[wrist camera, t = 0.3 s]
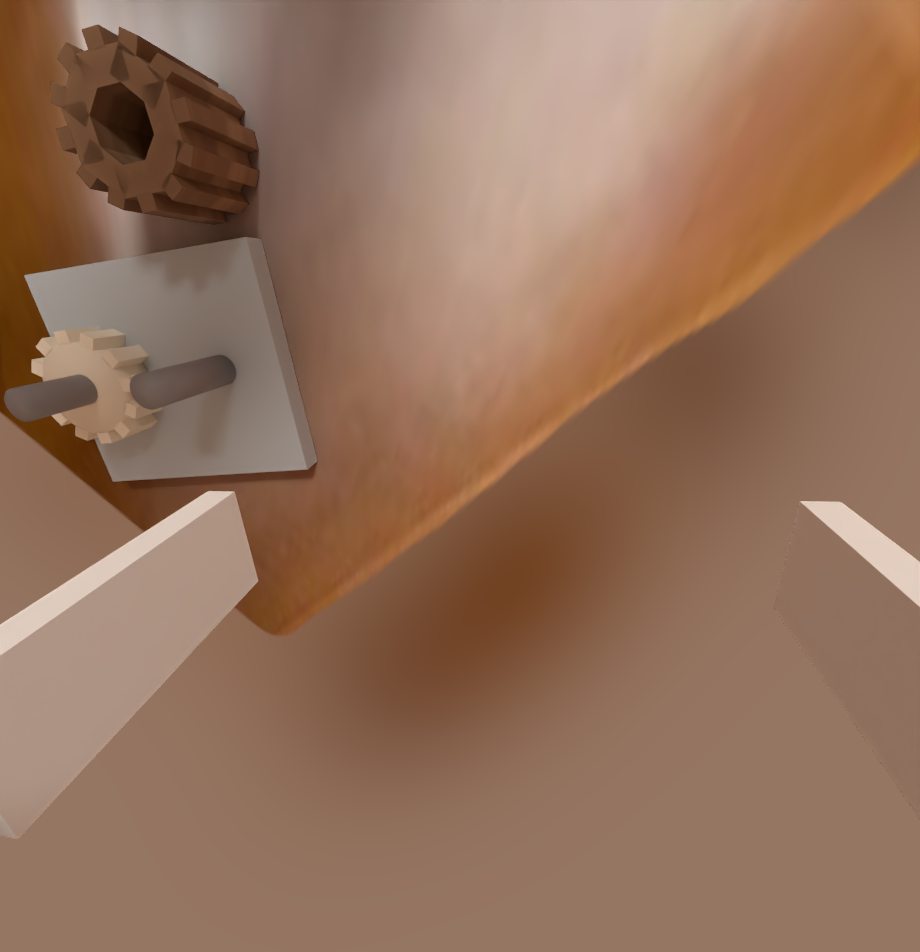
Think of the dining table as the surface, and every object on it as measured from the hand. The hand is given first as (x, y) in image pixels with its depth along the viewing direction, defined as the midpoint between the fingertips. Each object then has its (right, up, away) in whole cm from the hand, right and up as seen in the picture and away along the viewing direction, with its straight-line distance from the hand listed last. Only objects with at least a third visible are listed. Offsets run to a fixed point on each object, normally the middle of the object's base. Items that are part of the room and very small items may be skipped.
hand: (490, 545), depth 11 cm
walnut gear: (-19, +25, +23) cm, 39 cm away
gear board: (-24, +11, +30) cm, 40 cm away
